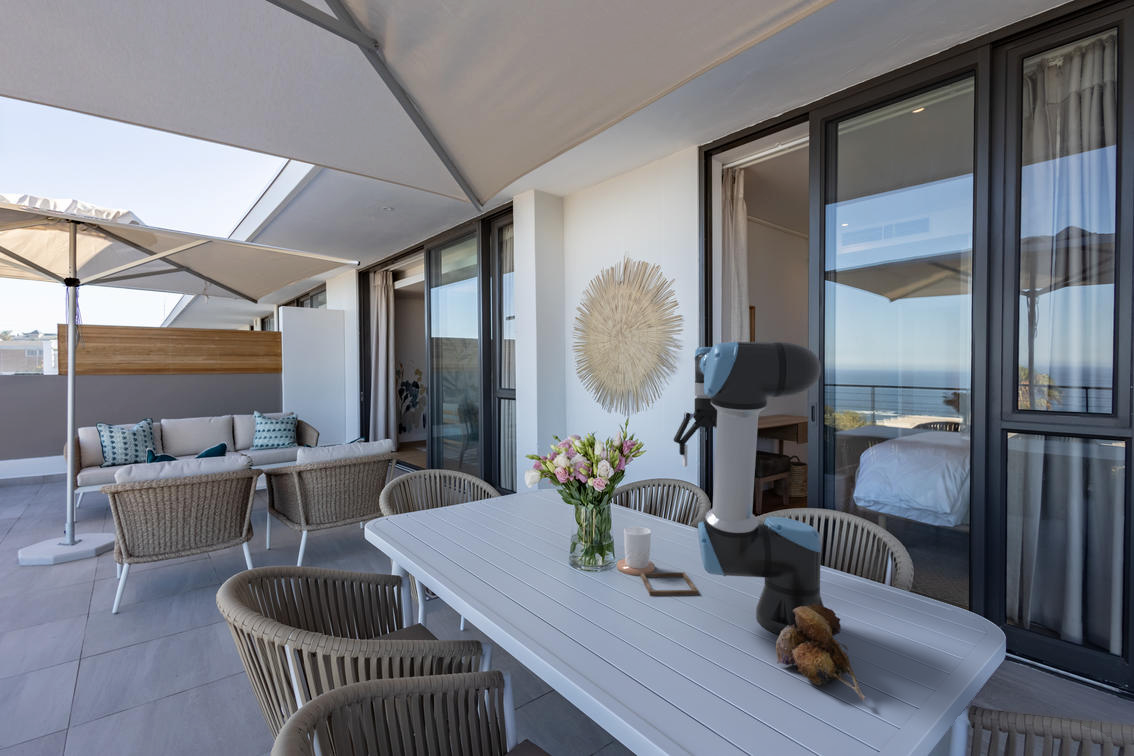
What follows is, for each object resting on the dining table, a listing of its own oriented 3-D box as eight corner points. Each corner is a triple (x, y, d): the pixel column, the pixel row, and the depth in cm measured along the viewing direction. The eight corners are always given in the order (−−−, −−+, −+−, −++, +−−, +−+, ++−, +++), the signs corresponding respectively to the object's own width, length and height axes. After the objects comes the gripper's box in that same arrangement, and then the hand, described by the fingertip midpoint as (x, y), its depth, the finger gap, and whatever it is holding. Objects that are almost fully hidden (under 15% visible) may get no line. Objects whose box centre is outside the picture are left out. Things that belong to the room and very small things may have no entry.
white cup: (649, 560, 153) (650, 527, 153) (651, 570, 146) (651, 535, 145) (623, 559, 154) (623, 526, 154) (623, 569, 146) (624, 534, 146)
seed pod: (871, 627, 102) (793, 589, 108) (883, 648, 87) (793, 603, 94) (847, 690, 101) (771, 648, 108) (856, 722, 87) (768, 671, 93)
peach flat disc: (658, 575, 145) (658, 571, 145) (620, 575, 144) (620, 572, 144) (650, 561, 156) (650, 557, 156) (614, 561, 155) (614, 558, 155)
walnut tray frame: (698, 594, 132) (698, 591, 132) (650, 595, 131) (650, 591, 131) (684, 575, 144) (684, 572, 144) (640, 576, 144) (640, 572, 144)
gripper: (741, 396, 163) (741, 463, 163) (664, 396, 161) (663, 463, 161) (751, 397, 155) (750, 467, 155) (670, 397, 154) (669, 467, 154)
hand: (706, 465), depth 158 cm, fingers open, 13 cm apart
